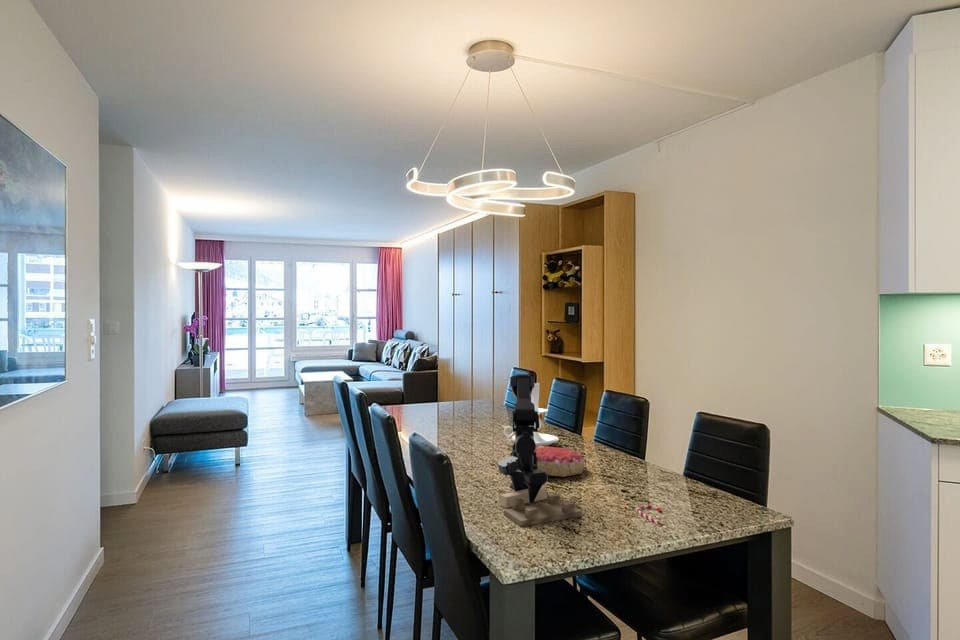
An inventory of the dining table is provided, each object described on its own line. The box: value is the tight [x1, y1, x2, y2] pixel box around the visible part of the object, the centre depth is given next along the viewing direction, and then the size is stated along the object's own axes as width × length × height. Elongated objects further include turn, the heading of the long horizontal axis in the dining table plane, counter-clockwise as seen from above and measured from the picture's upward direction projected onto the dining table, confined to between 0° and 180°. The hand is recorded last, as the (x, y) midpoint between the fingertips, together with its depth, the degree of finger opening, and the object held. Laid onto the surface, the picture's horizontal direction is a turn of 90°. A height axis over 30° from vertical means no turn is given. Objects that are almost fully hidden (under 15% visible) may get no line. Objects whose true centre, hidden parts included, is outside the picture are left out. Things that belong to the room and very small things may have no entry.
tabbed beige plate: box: [503, 493, 583, 527], centre depth 166 cm, size 20×10×4 cm, turn 114°
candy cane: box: [635, 504, 663, 527], centre depth 166 cm, size 8×1×15 cm
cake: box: [535, 445, 585, 479], centre depth 215 cm, size 25×25×8 cm
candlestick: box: [502, 382, 559, 447], centre depth 255 cm, size 21×25×28 cm
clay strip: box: [499, 486, 548, 509], centre depth 178 cm, size 16×3×4 cm, turn 124°
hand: (524, 498), depth 178 cm, fingers open, 9 cm apart
